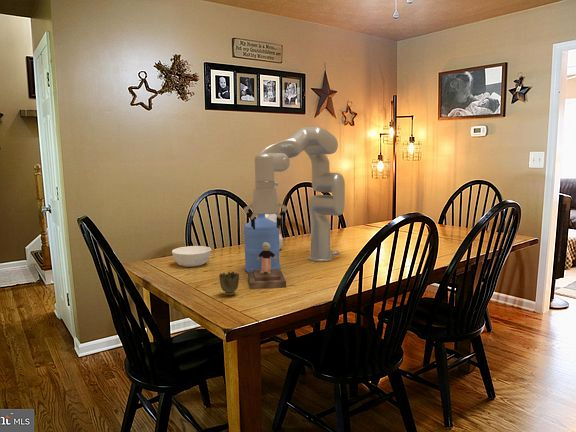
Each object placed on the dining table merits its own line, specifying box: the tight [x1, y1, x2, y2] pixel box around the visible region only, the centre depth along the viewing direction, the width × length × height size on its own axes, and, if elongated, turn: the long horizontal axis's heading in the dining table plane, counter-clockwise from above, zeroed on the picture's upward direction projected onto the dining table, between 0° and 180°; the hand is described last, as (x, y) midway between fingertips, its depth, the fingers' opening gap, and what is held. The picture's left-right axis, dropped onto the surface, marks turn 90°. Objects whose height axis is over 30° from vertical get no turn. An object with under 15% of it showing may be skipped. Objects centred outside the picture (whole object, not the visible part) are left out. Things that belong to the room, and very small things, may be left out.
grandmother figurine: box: [257, 242, 276, 274], centre depth 184 cm, size 8×4×13 cm, turn 94°
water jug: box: [243, 214, 281, 273], centre depth 202 cm, size 16×16×28 cm
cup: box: [218, 271, 240, 297], centre depth 169 cm, size 8×7×8 cm
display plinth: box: [247, 269, 287, 290], centre depth 185 cm, size 14×16×4 cm
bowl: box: [171, 245, 212, 268], centre depth 216 cm, size 18×18×7 cm
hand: (265, 228), depth 182 cm, fingers open, 9 cm apart
